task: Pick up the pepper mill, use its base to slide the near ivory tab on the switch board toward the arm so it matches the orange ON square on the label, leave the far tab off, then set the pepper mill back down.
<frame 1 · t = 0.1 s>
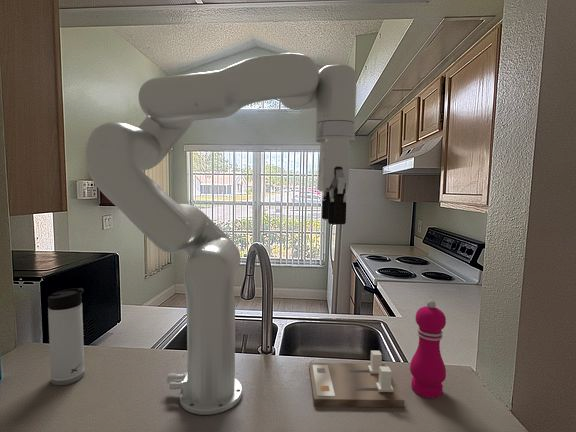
hand: (332, 221, 68), 37 cm above the countertop, tool pointing down, fingers open, 9 cm apart
switch board: (352, 386, 75), on the countertop
tab 2: (375, 361, 78), point 4 cm above the countertop, slide at 0.0 cm
travel mug: (69, 378, 76), on the countertop
pepper mill: (426, 390, 74), on the countertop
tab 1: (384, 378, 71), point 4 cm above the countertop, slide at 0.0 cm
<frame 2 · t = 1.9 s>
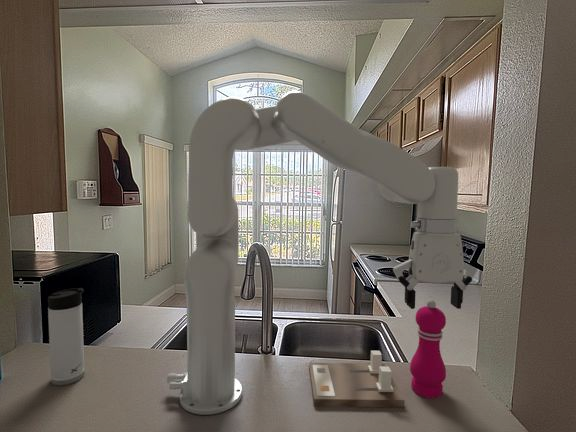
hand: (433, 306, 73), 19 cm above the countertop, tool pointing down, fingers open, 9 cm apart
nothing on the countertop moved.
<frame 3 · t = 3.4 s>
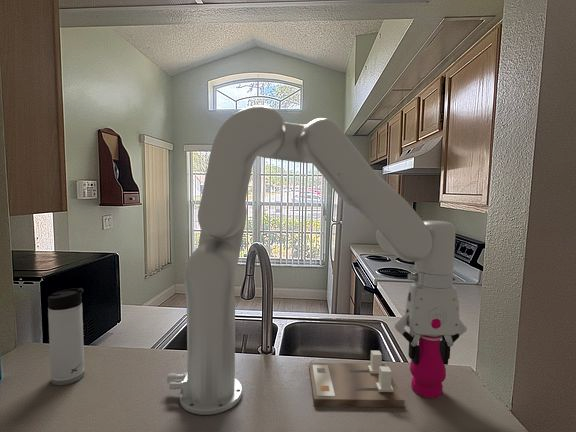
hand: (428, 360, 74), 7 cm above the countertop, tool pointing down, fingers closed on pepper mill, 5 cm apart
pepper mill: (426, 390, 74), on the countertop, touching gripper
everything else where it was.
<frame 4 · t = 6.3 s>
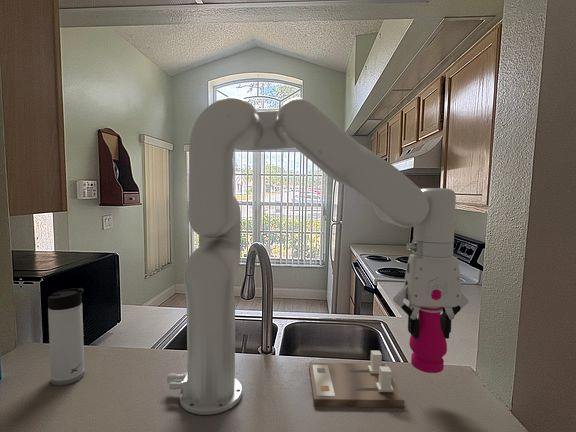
hand: (428, 334, 71), 13 cm above the countertop, tool pointing down, fingers closed on pepper mill, 5 cm apart
pepper mill: (426, 366, 71), point 7 cm above the countertop, touching gripper
everything else where it was.
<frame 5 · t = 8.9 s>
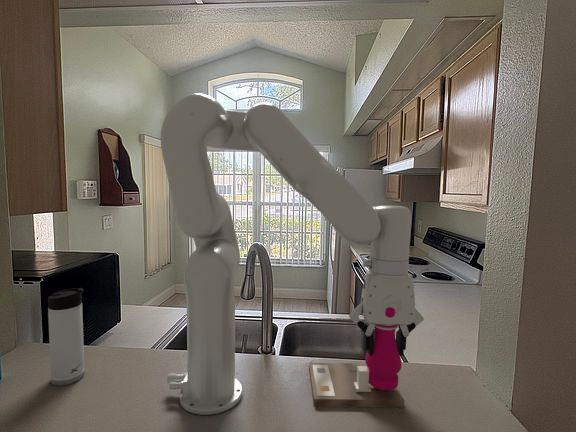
hand: (384, 351, 71), 10 cm above the countertop, tool pointing down, fingers closed on pepper mill, 5 cm apart
pepper mill: (382, 382, 71), point 3 cm above the countertop, touching gripper
tab 1: (362, 378, 71), point 4 cm above the countertop, slide at 4.6 cm
everything else where it was.
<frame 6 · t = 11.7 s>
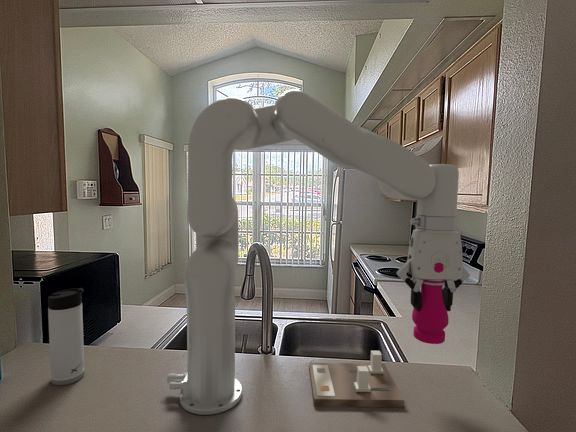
hand: (431, 307, 73), 18 cm above the countertop, tool pointing down, fingers closed on pepper mill, 5 cm apart
pepper mill: (428, 338, 73), point 12 cm above the countertop, touching gripper
everything else where it was.
when the fingers open (8 cm above the countertop, at t = 13.9 s): pepper mill drops 1 cm, on the countertop.
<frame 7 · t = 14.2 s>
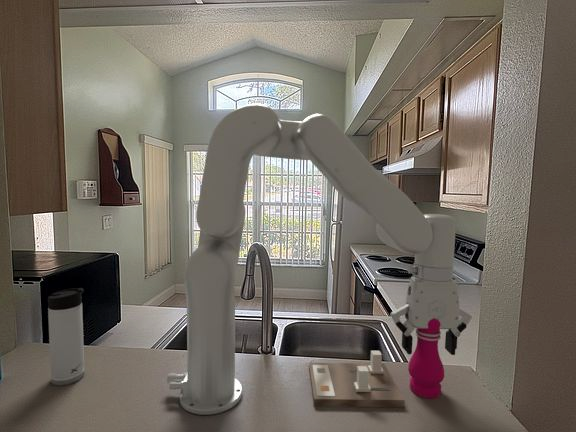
hand: (428, 351, 74), 9 cm above the countertop, tool pointing down, fingers open, 8 cm apart
pepper mill: (424, 390, 74), on the countertop
everything else where it was.
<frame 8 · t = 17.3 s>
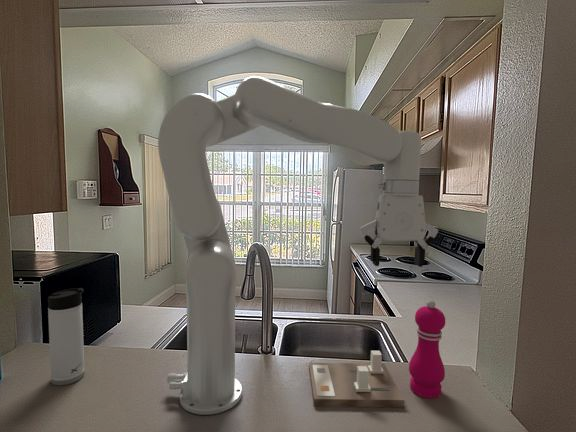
hand: (397, 265, 77), 26 cm above the countertop, tool pointing down, fingers open, 9 cm apart
nothing on the countertop moved.
at the end: tab 1 slide at 4.7 cm; tab 2 slide at 0.0 cm; pepper mill tilted 1° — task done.
